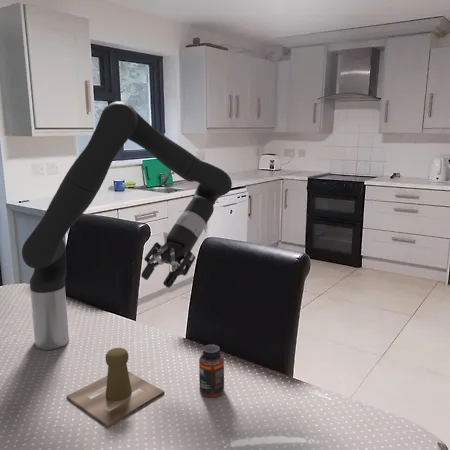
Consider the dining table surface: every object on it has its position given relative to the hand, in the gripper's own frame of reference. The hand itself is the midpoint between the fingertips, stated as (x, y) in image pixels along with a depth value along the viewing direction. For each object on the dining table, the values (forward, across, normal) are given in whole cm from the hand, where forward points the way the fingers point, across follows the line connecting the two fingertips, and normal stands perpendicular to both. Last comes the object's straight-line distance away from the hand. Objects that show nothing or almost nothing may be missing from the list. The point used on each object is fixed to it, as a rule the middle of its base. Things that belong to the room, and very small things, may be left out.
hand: (154, 282), depth 111 cm
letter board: (+28, +4, +6) cm, 28 cm away
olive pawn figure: (+27, +4, +6) cm, 28 cm away
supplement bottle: (+16, +20, +17) cm, 30 cm away
